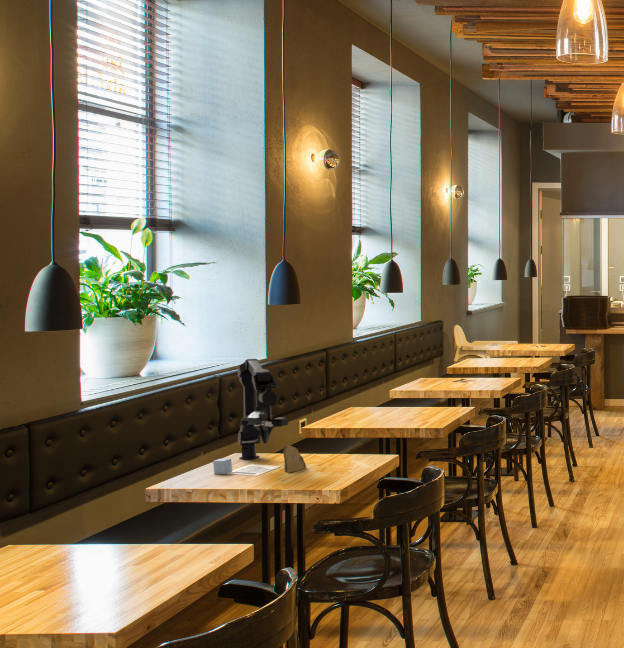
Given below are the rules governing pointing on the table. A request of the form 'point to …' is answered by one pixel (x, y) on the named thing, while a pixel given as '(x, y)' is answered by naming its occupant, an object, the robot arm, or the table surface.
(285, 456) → the rock
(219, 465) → the cube
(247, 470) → the letter
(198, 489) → the table surface
